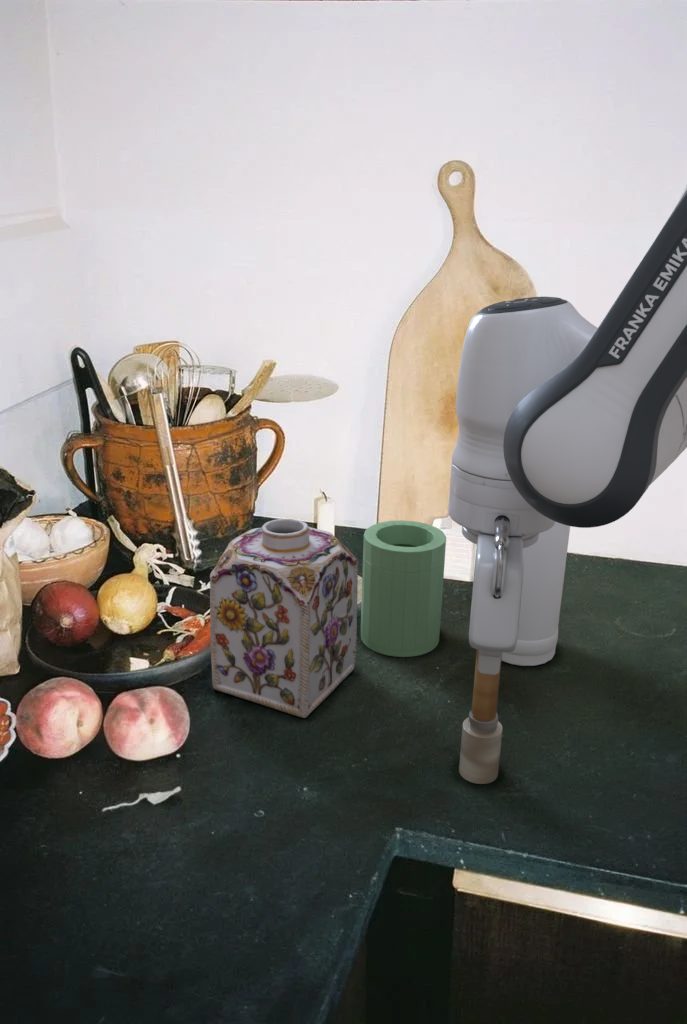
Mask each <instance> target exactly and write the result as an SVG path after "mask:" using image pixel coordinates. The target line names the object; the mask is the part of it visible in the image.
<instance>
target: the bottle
mask: <svg viewBox="0 0 687 1024" xmlns="http://www.w3.org/2000/svg"><path fill="white" fill-rule="evenodd" d="M570 530H571V526H567V525H564V524H561V523H558V522H555V524H554V526H553V527H552V528H550V529H549V530H547V531H544V532H541V533H539V536H538V540H537V542H536V543H534V544H533V545H531V546H529V547H526V548H523V561H524V569H523V585H522V596H521V607H520V618H519V628H518V637H517V643H516V647H515V649H514V650H513V651H512V652H502V659H501V662H503V663H507V664H509V665H514V666H520V667H536V666H539V665H543V664H544V665H545V664H546V663H547V662H549V661H551V660H553V658H554V656H555V654H556V650H557V649H556V648H557V644H558V640H559V623H560V615H561V606H562V598H563V591H564V581H565V575H566V574H565V573H566V566H567V565H566V564H567V555H568V546H569V540H570V532H571V531H570Z"/></svg>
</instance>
